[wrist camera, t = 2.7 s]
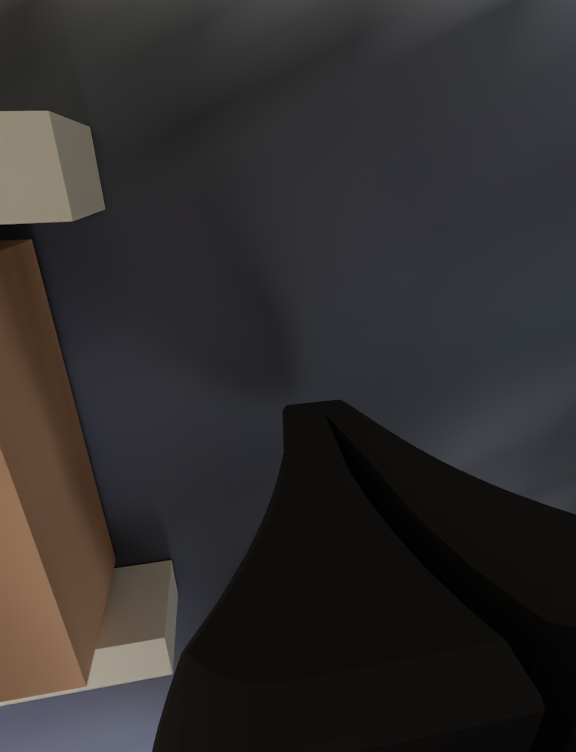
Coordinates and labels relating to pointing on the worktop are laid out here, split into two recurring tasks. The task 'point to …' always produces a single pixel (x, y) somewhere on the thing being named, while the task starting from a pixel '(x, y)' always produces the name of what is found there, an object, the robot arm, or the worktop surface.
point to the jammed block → (44, 500)
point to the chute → (65, 204)
